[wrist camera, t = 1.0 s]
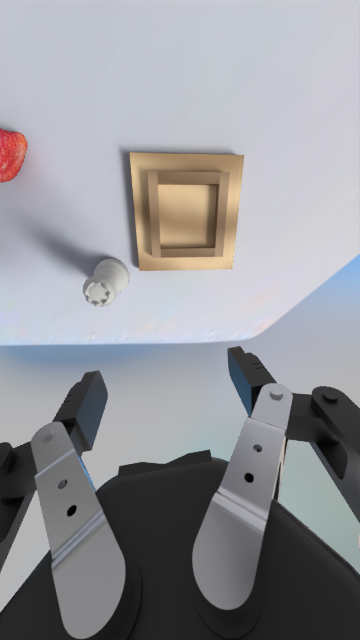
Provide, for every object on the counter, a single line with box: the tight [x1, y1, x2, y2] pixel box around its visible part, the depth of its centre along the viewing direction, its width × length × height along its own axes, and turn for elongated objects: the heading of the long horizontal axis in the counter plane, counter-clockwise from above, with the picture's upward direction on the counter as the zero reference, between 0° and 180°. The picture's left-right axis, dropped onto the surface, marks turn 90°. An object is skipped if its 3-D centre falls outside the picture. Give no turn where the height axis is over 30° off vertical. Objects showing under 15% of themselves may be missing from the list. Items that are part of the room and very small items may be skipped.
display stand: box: [130, 153, 244, 271], centre depth 24 cm, size 12×12×2 cm
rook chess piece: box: [83, 258, 130, 306], centre depth 24 cm, size 4×4×8 cm
